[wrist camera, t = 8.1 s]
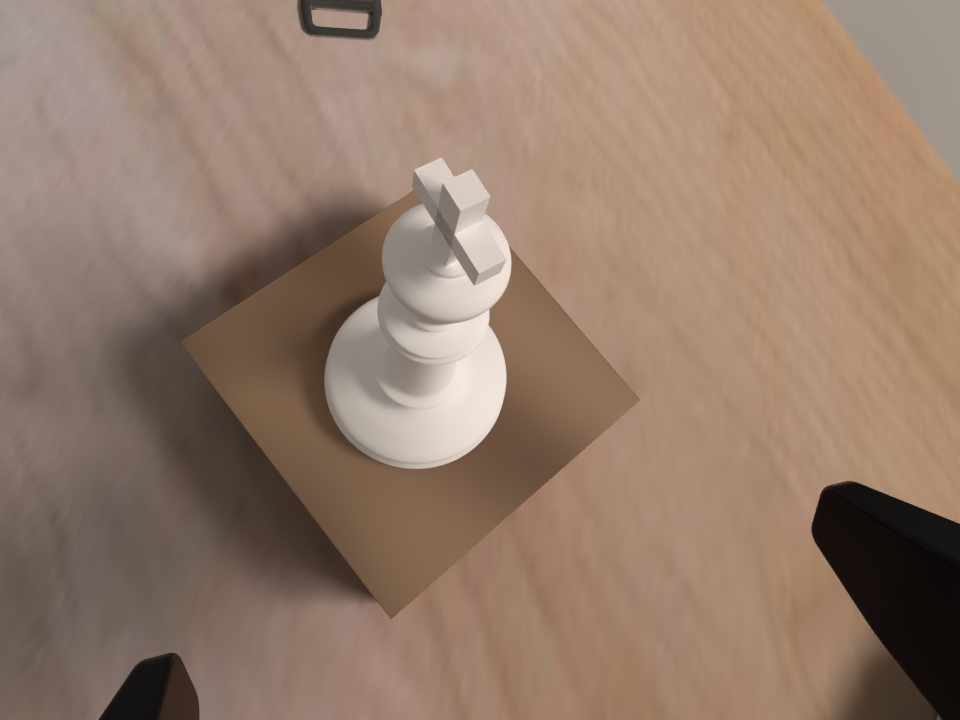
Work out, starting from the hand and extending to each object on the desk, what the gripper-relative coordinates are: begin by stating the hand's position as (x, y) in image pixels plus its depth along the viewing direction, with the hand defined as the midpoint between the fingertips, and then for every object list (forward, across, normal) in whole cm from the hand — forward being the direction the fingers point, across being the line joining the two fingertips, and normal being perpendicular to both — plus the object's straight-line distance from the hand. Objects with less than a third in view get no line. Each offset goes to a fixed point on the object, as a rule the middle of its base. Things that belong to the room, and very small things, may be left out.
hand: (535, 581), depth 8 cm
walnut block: (+12, 0, +4) cm, 13 cm away
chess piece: (+9, 0, +2) cm, 10 cm away
